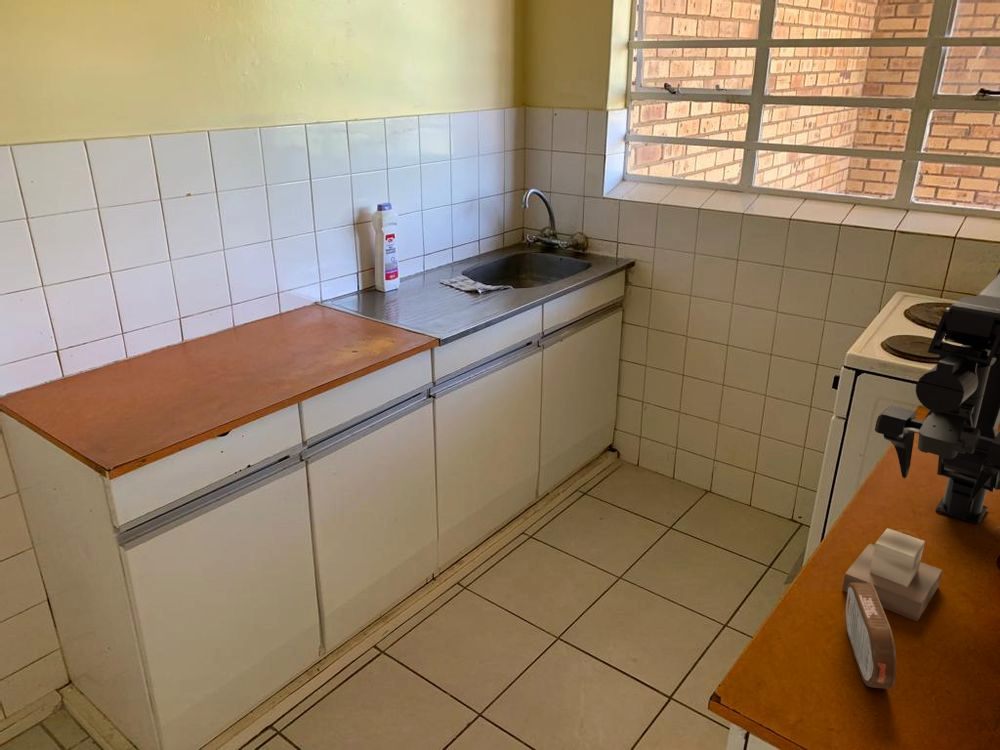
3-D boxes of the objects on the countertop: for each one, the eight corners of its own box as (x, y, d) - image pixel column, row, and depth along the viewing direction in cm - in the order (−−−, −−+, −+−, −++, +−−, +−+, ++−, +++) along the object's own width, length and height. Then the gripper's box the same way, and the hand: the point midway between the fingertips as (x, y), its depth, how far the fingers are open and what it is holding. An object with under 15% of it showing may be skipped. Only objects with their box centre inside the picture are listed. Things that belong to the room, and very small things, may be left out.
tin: (892, 705, 89) (905, 648, 86) (863, 701, 89) (875, 645, 86) (862, 621, 102) (872, 569, 99) (837, 618, 103) (846, 567, 100)
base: (866, 559, 115) (869, 543, 114) (938, 587, 109) (942, 569, 108) (842, 590, 109) (845, 573, 107) (917, 621, 102) (921, 603, 101)
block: (881, 556, 111) (887, 528, 109) (918, 570, 108) (924, 541, 106) (869, 572, 108) (875, 542, 106) (907, 587, 104) (914, 556, 102)
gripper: (871, 390, 107) (853, 486, 112) (1026, 428, 95) (997, 533, 100) (896, 369, 114) (878, 460, 120) (1042, 401, 102) (1015, 501, 108)
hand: (937, 487), depth 112 cm, fingers open, 9 cm apart
